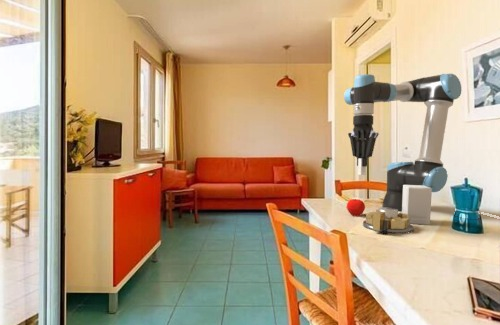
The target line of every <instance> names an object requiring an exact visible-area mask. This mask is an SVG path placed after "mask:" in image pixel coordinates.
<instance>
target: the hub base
mask: <svg viewBox="0 0 500 325" xmlns="http://www.w3.org/2000/svg"><path fill="white" fill-rule="evenodd" d="M377 210H378V211H383V212H385V219H392V217H398V214H399V211H398V210H397V209H394V208H387V207H378V209H377ZM387 225H388V220H383V229H382V230H380V231H379V233H382V235H384V234H385V235H384V236H386V234H387V235H388V234H395V233H402V234H409V233H412V232H414V226H413V224H412V225H411V224H410V226H409V227H408V228H404V229H390V228H389V229H387ZM362 226H363V227H364V228H366V229H367V230H371V231H375V232H378V230H373V226H372V225H370V224H368V223H366V219H365V220H363V222H362ZM411 231H412V232H411ZM408 232H409V233H408Z"/></svg>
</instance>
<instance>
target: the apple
mask: <svg viewBox="0 0 500 325" xmlns="http://www.w3.org/2000/svg"><path fill="white" fill-rule="evenodd" d="M346 210H347V212H348V213H349V214H350V215H351V216H353V217H359V216H362V214H363V213H364V211H365V210H366V205H365V203H364V201H363V200H361V199H359V198H358V199H357V198H356V199H352V198H351V199H350V200H348V201H347V203H346Z"/></svg>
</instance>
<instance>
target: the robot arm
mask: <svg viewBox="0 0 500 325" xmlns="http://www.w3.org/2000/svg"><path fill="white" fill-rule="evenodd" d="M375 77H376V76H374V74H369V73H367V74H357V75H356V76H355V77H354V83H353V86H352V87H350V88H347V89H346V90H345V91H344V93H343V99H344V102H345V103H346V104H347V105H349V106H351V105H352V106H353V120H352V121H353V123H352V124H353V129H352V131H351V132H348V138H349V140H350V147H351V152H352V153H351V154H352V156H353V157H356V166H357V167H358V168H357V175H358V176H364V175H365V176H366V172H367V171H366V167H368V158H372V157H373V153H374V149H375V146H376V141H377V138H378V136H379V132H376V131H374V128H373V125H374V115H373V114H374V113H375V111H374V110H375V109H374V108H375V107H374V106H375V103H389V102H394V101H400V102H401V103H402V102H403V103H405V102H406V103H410V102H411V103H424V105H425V106H426V113H425V119H424V124H423V131H422V137H421V143H420V144H421V145H420V150H419V156H418V157H417V158H416V159H415V160H414V161H402V162H399V161H398V162H390V163H389V164H388V165H387V170H386V192H385V195H384V198H383V200H382V203H381V205H382V207H387V208H394V209H397V210H398V212H402V198H403V185H424V186H427V187H429V188H432V193H438V192H439V191H441V190H442V189H444V187H445V186H446V184H447V181H448V178H449V177H448V175H449V174H448V170H447V169H446V168H445V167H444V163H443V162H442V161H441V157H442V150H443V144H444V138H445V133H446V131H445V130H446V127H447V120H448V113H449V109H450V107H452V106H453V105H454V101H455V100H457V99H458V98H460V96H461V94H462V83H461V81H460V79H459V77H458V76H457V75H456V74H454V73H442V74H437V75H433V76H426V77H425V76H424V77H421V78H417V79H412V80H409V81H402V82H400V83H397V84H393V83H389V82H383V81H382V82H381V81H376V79H375Z"/></svg>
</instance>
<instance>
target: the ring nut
mask: <svg viewBox="0 0 500 325" xmlns="http://www.w3.org/2000/svg"><path fill="white" fill-rule="evenodd" d="M365 220H366V223H368V224H370V225H372V226H373V230H372V231H374V230H378V231H380V230H382V229H383V220H388V225H387V229H389V228H390V229H404V228H408V227H409V226H410V225H411V224H410V217H408V216H407V214H406V213H402V212H398V217H392V219H385V212H383V211H378V209H376V210H375V211H371V212H368V213H366V214H365ZM378 231H377V232H378Z"/></svg>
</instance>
